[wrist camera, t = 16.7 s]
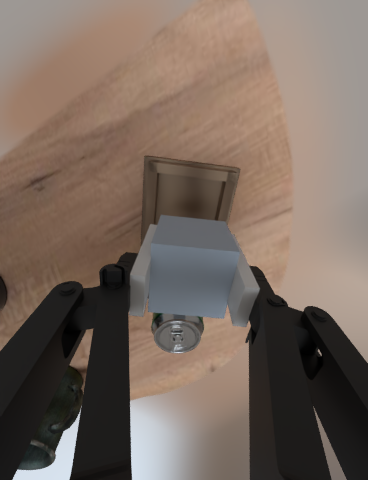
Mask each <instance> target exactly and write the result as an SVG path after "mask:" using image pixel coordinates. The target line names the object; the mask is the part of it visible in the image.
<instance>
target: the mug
mask: <svg viewBox="0 0 368 480" xmlns="http://www.w3.org/2000/svg"><path fill="white" fill-rule="evenodd" d="M82 384H83V383H82V378H81V376H80V374H79V373H78V372H77V371H76V370H74V369H73V368H71V367H69V366H68V368H67V370H66V372H65V374H64V376H63V378H62V380H61V382H60V384H59V386H58V388H57V390H56V392H55V394H54V396H53V398H52V400H51V402H50V404H49V406H48V408H47V410H46V412H45V415H44V417H43V419H42V421H41V423H40V425H39V427H38V429H37V431H36V433H35V435H34V437H33V439H32V441H31V443H30V445H29V447H28V449H27V451H26V453H25V455H24V457H23V459H22V461H21V463H20V465H19V467H18V469H19V470H36V469H42V468H45V467H48V466H49V465H51V464H52V463H53V462H54V460H55V456H56V455H55V451H56V448H57V446H58V443H59V441H60V439H61V436H62V434H63V431H65V430H66V429H68V428H70V426H71V425H72V424H73V423H74V422H75V420H76V418H77V416H78V414H79V412H80V409H81V405H82V401H83V391H82V389H81V388H82Z"/></svg>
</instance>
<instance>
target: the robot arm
mask: <svg viewBox="0 0 368 480" xmlns="http://www.w3.org/2000/svg"><path fill="white" fill-rule="evenodd" d="M156 228H157V225H154V224H150V226H149V229H148V231H147V234H146V236H145V239H144V241H143V244H142V246H141V248H140V251H139V253H138V254H137V253H128V252H126V253H125V254H123V255H122V256H121V257H120V259H119V261H118V262H117V264H109V265H106V266H104V267H103V268H101V270H100V271H99V274H100V286H98V287H93V288H84V289H83V287H82V284H80V283H79V282H75V281H68V282H64V283H61V284H59V285H57V286H56V287H54V288H53V289H52V291H51V292H50V293H49V294H48V295H47V296H46V298H45V299H44V300H43V301H42V302H41V304H40V305H39V306H38V307H37V308H36V310H35V311H34V312H33V313H32V314H31V315H30V317H29V318H28V319H27V320H26V321H25V323H24V324H23V325H22V326H21V327H20V329H19V330H18V331H17V332H16V333H15V334H14V336H13V337H12V338H11V339H10V340H9V342H8V343H7V344H6V345H5V346H4V348H3V349H2V350H1V351H0V480H12V479H13V477H14V475H15V473H16V471H17V469H18V467H19V465H20V463H21V461H22V459H23V457H24V455H25V453H26V451H27V449H28V447H29V445H30V443H31V441H32V439H33V437H34V435H35V433H36V431H37V429H38V427H39V425H40V423H41V421H42V419H43V417H44V415H45V412H46V410H47V408H48V406H49V404H50V402H51V400H52V398H53V396H54V394H55V392H56V390H57V388H58V386H59V384H60V382H61V380H62V378H63V376H64V374H65V372H66V370H67V368H68V366H69V364H70V362H71V360H72V358H73V356H74V354H75V352H76V350H77V348H78V346H79V344H80V342H81V340H82V338H83V336H84V334H85V332H86V330H87V329H93V328H94V329H93V336H92V342H91V349H90V355H89V362H88V368H87V375H86V381H85V388H84V394H83V401H82V407H81V414H80V420H79V427H78V433H77V440H76V446H75V453H74V459H73V466H72V472H71V476H70V480H132V473H131V437H130V383H129V329H128V312H129V315H132V316H142V317H143V315H144V311H145V307H146V303H147V298H148V294H149V281H150V267H151V242H152V239H153V236H154V233H155V231H156ZM232 236H233V238H234V240H235V243H236V245H237V247H238V249H239V251H240V255H239V259H238V263H237V267H236V271H235V275H234V279H233V283H232V286H231V290H230V294H229V297H228V301H227V303H228V307H229V311H230V316H231V320H232V324H233V326H241V327H246V326H247V323H248V321H250V324H251V328H250V330H249V333H248V336H247V338H246V342H245V343H248V340H249V412H250V413H249V421H250V422H249V423H250V425H249V426H250V480H331V476H330V472H329V468H328V464H327V460H326V456H325V452H324V448H323V444H322V440H321V436H320V432H319V428H318V424H317V420H316V416H315V412H314V408H315V410H316V412H317V415H318V417H319V419H320V421H321V424H322V426H323V428H324V430H325V432H326V434H327V437H328V439H329V441H330V443H331V446H332V448H333V450H334V452H335V454H336V456H337V459H338V461H339V463H340V466H341V467H342V470H343V472H344V474H345V476H346V479H347V480H368V363H367V362H366V361H365V360H364V358H363V357H362V356H361V354H360V353H359V352H358V350H357V349H356V348H355V346H354V345H353V344H352V343H351V341H350V340H349V339H348V338H347V336H346V335H345V334H344V332H343V331H342V330H341V328H340V327H339V326H338V325H337V323H336V322H335V321H334V319H333V318H332V317H331V316H330V315H329V314H328V313H327V312H325V311H324V310H322V309H320V308H318V307H313V306H308V307H306V308H305V309H304V311H303V312H302V311H299V310H296V309H293V308H290V307H288V304H287V302H286V301H285V300H284V299H283V298H281V297H280V296H278V295H275V294H274V292H273V290H272V288H271V286H270V285H269V283H268V282H267V279H266V278H265V276H264V274H263V272H262V271H261V270H260V269H259V268H258V267H256V266H249V265H248V263H247V260H246V258H245V256H244V254H243V252H242V250H241V248H240V246H239V243H238V241H237V239H236V237H235V235H234V234H232ZM5 302H6V289H5V286H4V283H3V281H2V279H1V278H0V310H1V309H2V308H3V307H4V305H5ZM318 349H319V350H320V352H321V354H322V356H321V355H320V354H319V352H318ZM313 406H314V408H313Z"/></svg>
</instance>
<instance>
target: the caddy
mask: <svg viewBox="0 0 368 480" xmlns="http://www.w3.org/2000/svg"><path fill="white" fill-rule="evenodd" d="M239 173H240V169H239V168H235V167H228V166H220V165H213V164H205V163H198V162H191V161H183V160H176V159H168V158H161V157H153V156H144V181H143V206H142V231H141V246H142V244H143V241H144V239H145V236H146V234H147V231H148V229H149V226H150V224H154V225H158V222H159V219H160V216H161V215H167V216H177V217H186V218H196V219H206V220H215V221H225V222H226V224H227V225H228V220H229V216H230V212H231V208H232V203H233V199H234V195H235V190H236V186H237V182H238V178H239ZM148 298H149V294H148Z"/></svg>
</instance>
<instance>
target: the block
mask: <svg viewBox="0 0 368 480" xmlns="http://www.w3.org/2000/svg"><path fill="white" fill-rule="evenodd" d="M239 255H240V251H239V249H238V247H237V245H236V243H235V240H234V238H233V236H232V234H231V232H230V230H229V228H228V226H227V224H226V222H225V221H215V220H206V219H196V218H186V217H177V216H167V215H161V216H160V219H159V222H158V225H157V228H156V231H155V233H154V236H153V239H152V242H151V267H150V281H149V301H148V312H154V313H165V314H177V315H188V316H200V317H211V318H223V319H224V316H225V312H226V308H227V304H228V303H227V301H228V297H229V294H230V290H231V286H232V283H233V279H234V275H235V271H236V267H237V263H238V259H239Z"/></svg>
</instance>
